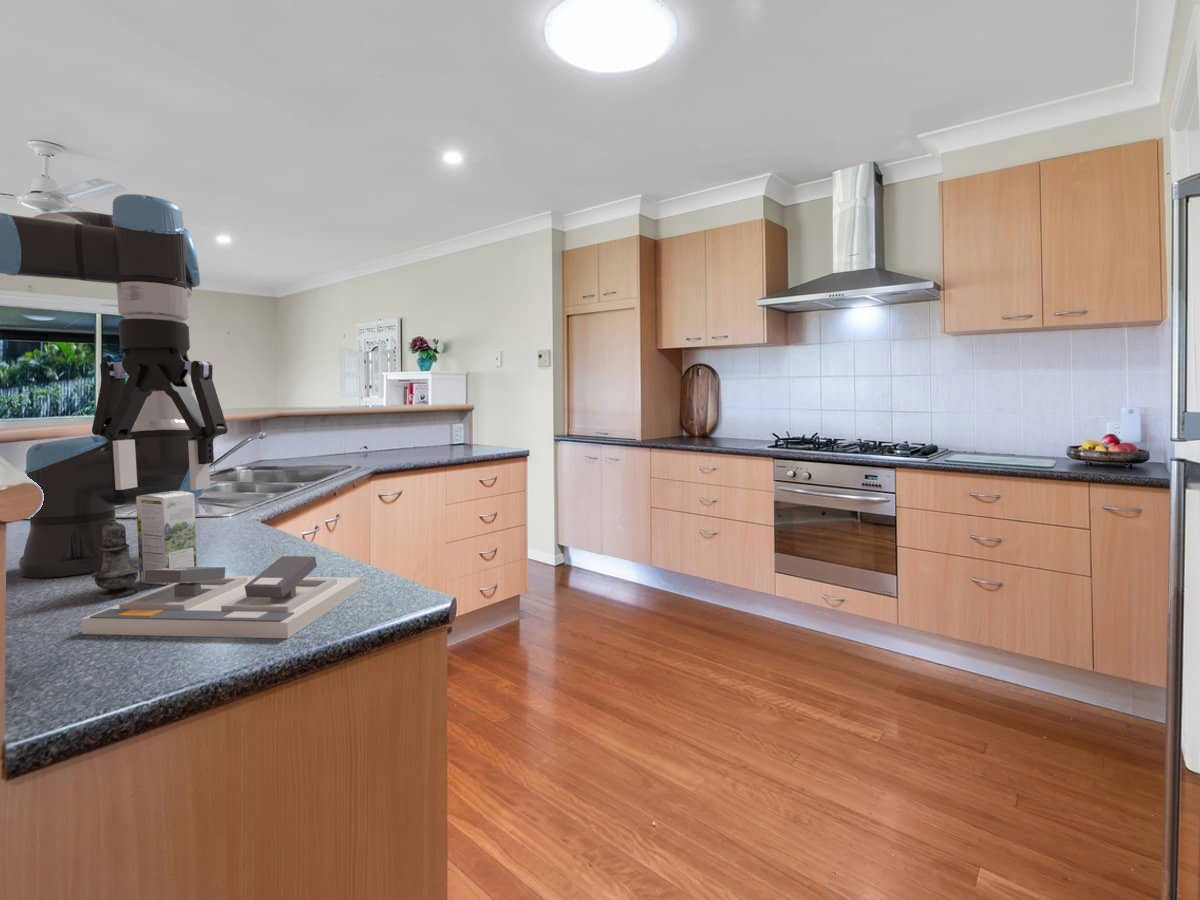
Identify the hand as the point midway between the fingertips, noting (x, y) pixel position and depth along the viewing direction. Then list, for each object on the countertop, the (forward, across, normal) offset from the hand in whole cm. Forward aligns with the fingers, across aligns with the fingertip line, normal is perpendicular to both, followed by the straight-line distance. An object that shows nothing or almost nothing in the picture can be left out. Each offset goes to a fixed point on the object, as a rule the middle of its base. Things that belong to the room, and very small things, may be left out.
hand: (163, 488), depth 83 cm
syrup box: (+18, -14, +18) cm, 29 cm away
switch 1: (+13, 0, +4) cm, 13 cm away
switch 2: (+13, +14, +3) cm, 19 cm away
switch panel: (+18, +7, +3) cm, 19 cm away
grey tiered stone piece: (+18, -16, +10) cm, 26 cm away
